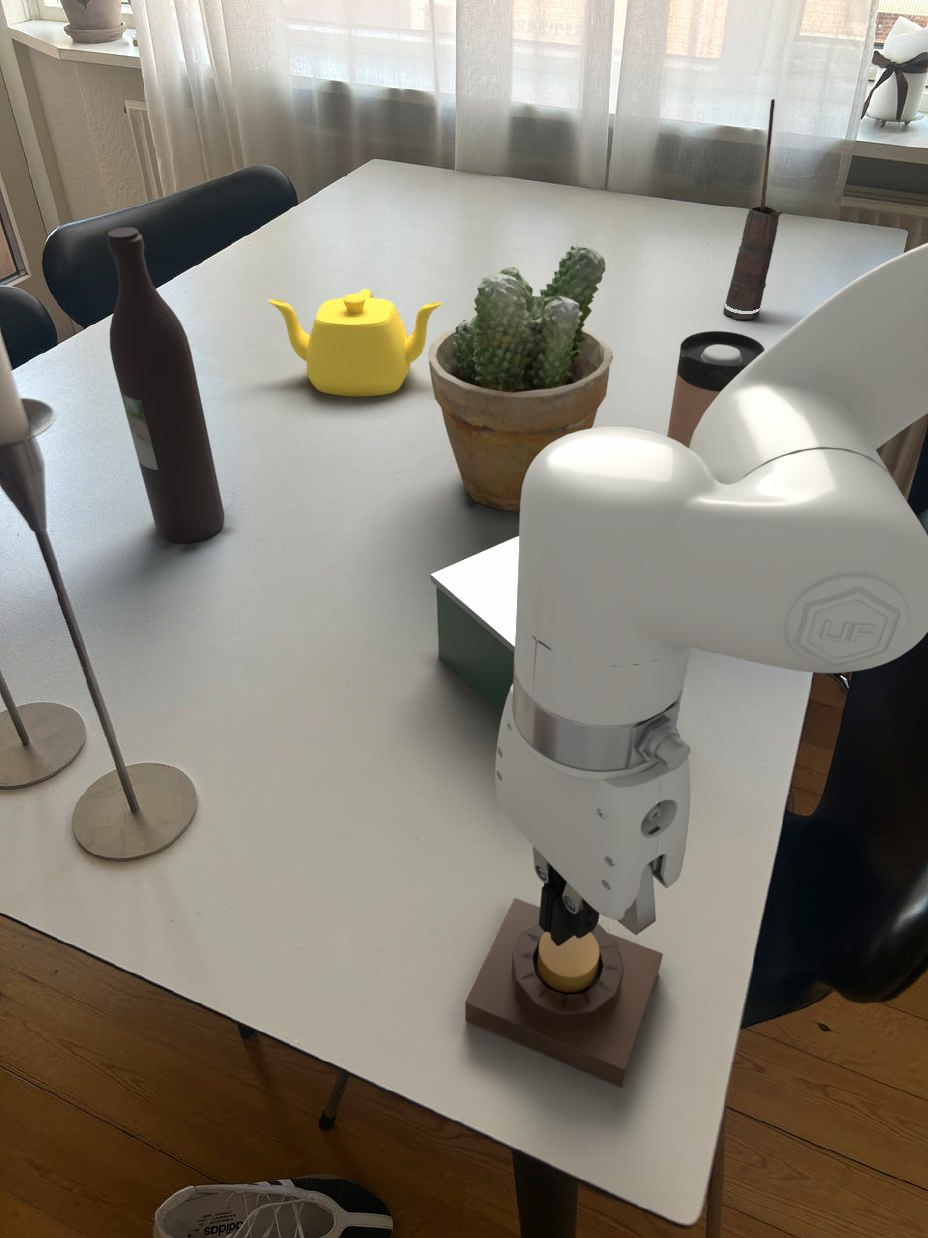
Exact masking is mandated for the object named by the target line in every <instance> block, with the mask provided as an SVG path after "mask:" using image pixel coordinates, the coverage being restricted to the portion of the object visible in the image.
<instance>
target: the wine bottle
mask: <svg viewBox="0 0 928 1238" xmlns="http://www.w3.org/2000/svg"><path fill="white" fill-rule="evenodd" d="M107 235H108V237H107V238H106V240H107V246H108V250H109V253H110V254H111V255H112V256H113V259H114V263H115V269H116V273H117V280H118V281H117V282H118V292H117V298H116V304H115V307H114V310H113V314H112V317H111V322H110V326H109V350H110V355H111V360H112V365H113V369H114V373H115V377H116V380H117V384H118V388H119V392H120V396H121V400H122V405H123V407H124V412H125V415H126V419H127V423H128V426H129V430H130V435H131V438H132V442H133V446H134V450H135V453H136V457H137V461H138V464H139V465H138V466H139V468H140V469H139V470H140V472H141V476H142V480H143V484H144V488H145V491H146V495H147V500H148V502H149V503H148V504H149V506H150V510H151V515H152V518H153V522H154V526H155V529H156V530H157V532H158V534H159V535H160V536H161V537H162V538H163V539H165V540H167V541H169V542H174V543H182V544H184V543H185V544H186V543H195V542H199V541H202V540H205V539H208V538H210V537H212V536H214V535H215V534H216V533H217V532H219V531H220V530H221V529H222V527H223V525H224V523H225V511H224V506H223V501H222V496H221V491H220V486H219V482H218V477H217V472H216V467H215V462H214V457H213V452H212V447H211V442H210V438H209V437H210V436H209V431H208V428H207V423H206V418H205V413H204V408H203V403H202V398H201V394H200V389H199V384H198V379H197V374H196V369H195V363H194V360H193V359H194V358H193V355H192V350H191V346H190V343H189V339H188V335H187V334H186V331H185V328H184V326H183V325H182V322H181V321H180V319H179V318H178V316H177V315H176V313H175V312H174V311H173V309H172V307H170V306H169V304H168V303H167V302H166V300H165V299H164V298H163V297H162V296H161V294H160V293H159V291H158V290H157V289H156V287H155V286H154V285H153V282H152V279H151V277H150V274H149V271H148V269H147V264H146V260H145V254H144V251H145V249H146V247H145V244H144V237H143V235H142V234H141V233H140V232H139V229H138V228H136V227H131V226H130V227H129V226H128V227H127V226H125V227H118V228H114V229H111V230H110V231H108V233H107Z"/></svg>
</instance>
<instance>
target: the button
mask: <svg viewBox="0 0 928 1238" xmlns="http://www.w3.org/2000/svg"><path fill="white" fill-rule="evenodd" d="M599 955H600V950H599V945H598V943H597V940H596V939H595V937H594V936H593V935H592V933H591V932H590V933H588V934H587V935H585V936H584V937H582V938H580V939H578V938H577V937H576V936H573V937H572V938H570V939H569V940H567V941H566V942H564V943H563V944H561V945H560V946H557V945H556V944H555V943H554V942H553V941H552V940H551V935H550V933H548V932H545V933H544V934H543V935H542V937H541V939H540V942H539V949H538V970H539V973H540V975H541V977H542V978H543V980H544V981H545V982H546V983H547V984H548V985H549V986H550V987H552V988H554V989H556V990H558V991H561V992H566V993H573V992H578V991H581V990H583V989H585V988H587V987H588V986H589V985H590V984H591V983H592V982H593V981H594V979H595V977H596V974H597V969H598V962H599Z"/></svg>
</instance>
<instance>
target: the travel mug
mask: <svg viewBox="0 0 928 1238" xmlns="http://www.w3.org/2000/svg"><path fill="white" fill-rule="evenodd" d="M679 347H680V348H679V355H678V356H679V357H678V362H677V369H676V375H675V382H674V389H673V395H672V400H671V401H672V402H671V410H670V414H669V415H670V416H669V421H668V428H667V434H666V436H667V437H669V438H671V439H674V440H676V441H678V442H680V443H681V444H683V445H684V446H686V447H687V448H689V446H690V443H691V439H692V436H693V433H694V431H695V429H696V427H697V425H698V424H699V422H700V420H701V418H702V416H703V414H704V413H705V411H706V410H707V409H708V407H709V406H710V405H711V404H712V402H713V401H714V400H715V399H716V397H717V396H718V395H719V393H720V392H721V391H722V390H723V389H724V388H725V387H726V386H727V385H728V384H729V383H730V382H731V381H732V380H733V379H734V378H735V377H736V376H737V375H738V374H739V373H740V372H741V371H742V370H743V369H744V368H745V367H746V366H747V365H749V364H750V363H751V362H752V361H753V360H754V359H755V358H757V357H758V356H759V355H760V354H761V353H762V352H764V351H765V350H766V349H765V347H764V346H763V344H762V343H761V342H759V341H757V340H756V339H755V338H752V337H750V336H748V335H744V334H742V333H737V332H731V331H723V330H710V331H702V332H697V333H694V334H691V335H689V336H687V337H686V338H684V339H683V340H682V342H681V343H680V346H679Z"/></svg>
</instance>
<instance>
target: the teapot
mask: <svg viewBox="0 0 928 1238" xmlns="http://www.w3.org/2000/svg"><path fill="white" fill-rule="evenodd" d="M267 301H268V303H269V304H271V305H272V306H274V307H275V308H276V309H277V310H278V311H279V312H280V313H281V315H282V317H283V319H284V322H285V325H286V330H287V334H288V339H289V342H290V345H291V347H292V349H293V351H294V352H295V354H296V355H297V356H298V357H299V358H301V359H302V360H303V361H305V362H306V372H307V377H308V378H309V381H310V383H311V384H312V385H313V386H314V388H315V389H316V390H317V391H319V392H320V393H323V394H328V395H332V396H333V395H334V396H341V397H374V396H375V397H376V396H384V395H389V394H393V393H395V392H397V391H399V390H400V389H401V387H402V386H403V384H404V382H405V380H406V378H407V375H408V374H409V370H410V368H411V364H412V363H413V362H415V361H416V360H418V358H419V357H420V356H421V355H422V353H423V351H424V349H425V346H426V340H427V329H428V322H429V318H430V316H431V314H432V313H433V312H434V311H435V310H436V309H437V308H438V307H440V306H441V305H442V304H443V302H442V301H434V302H429V303H426V304H424V305H423V306H421V307H420V308H419V310H418V311H417V314H416V317H415V324H414V330H413V332H412V333H411V334H410V335H409V336H408V332H407V329H406V327H405V325H404V322H403V320H402V318H401V316H400V313H399V311H398V309H397V308H396V305H395V304H394V302H392V301H391V300H388V299H384V298H375V297H374V294H373V292H372V290H370V289H368V288H363V289H361V290H360V291H359V292H358V293H349V294H346V295H345V296H343V297H338V298H332V299H328V300H325V301H324V302H323V303H322V304H321V305H320V307H319V309H318V311H317V313H316V315H315V318H314V321H313V324H312V328H311V330H310V334H309V333H307V332H306V331H305V330H303V328H302V327H301V324H300V322H299V318H298V316H297V313H296V312H295V310H294V309H293V307H292V306H291V304H289V303H287V302H286V301H283V300H279V299H274V298H272V299H271V298H270V299H267Z"/></svg>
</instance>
